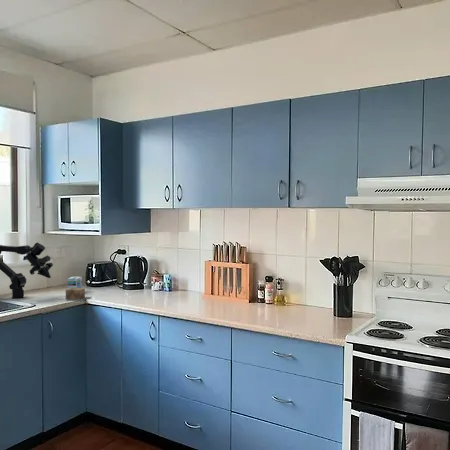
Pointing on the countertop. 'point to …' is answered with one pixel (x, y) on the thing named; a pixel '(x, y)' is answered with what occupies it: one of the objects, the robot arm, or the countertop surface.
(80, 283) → the light bulb box
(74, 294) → the walnut block
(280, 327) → the countertop surface
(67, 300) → the rubber mat
